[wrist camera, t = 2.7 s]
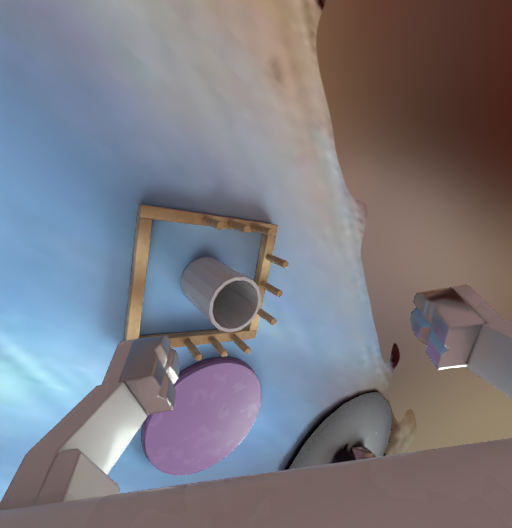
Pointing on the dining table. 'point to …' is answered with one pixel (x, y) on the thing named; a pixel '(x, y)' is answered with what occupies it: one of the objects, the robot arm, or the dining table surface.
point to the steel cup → (221, 293)
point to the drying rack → (189, 217)
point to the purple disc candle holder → (203, 417)
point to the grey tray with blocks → (349, 433)
